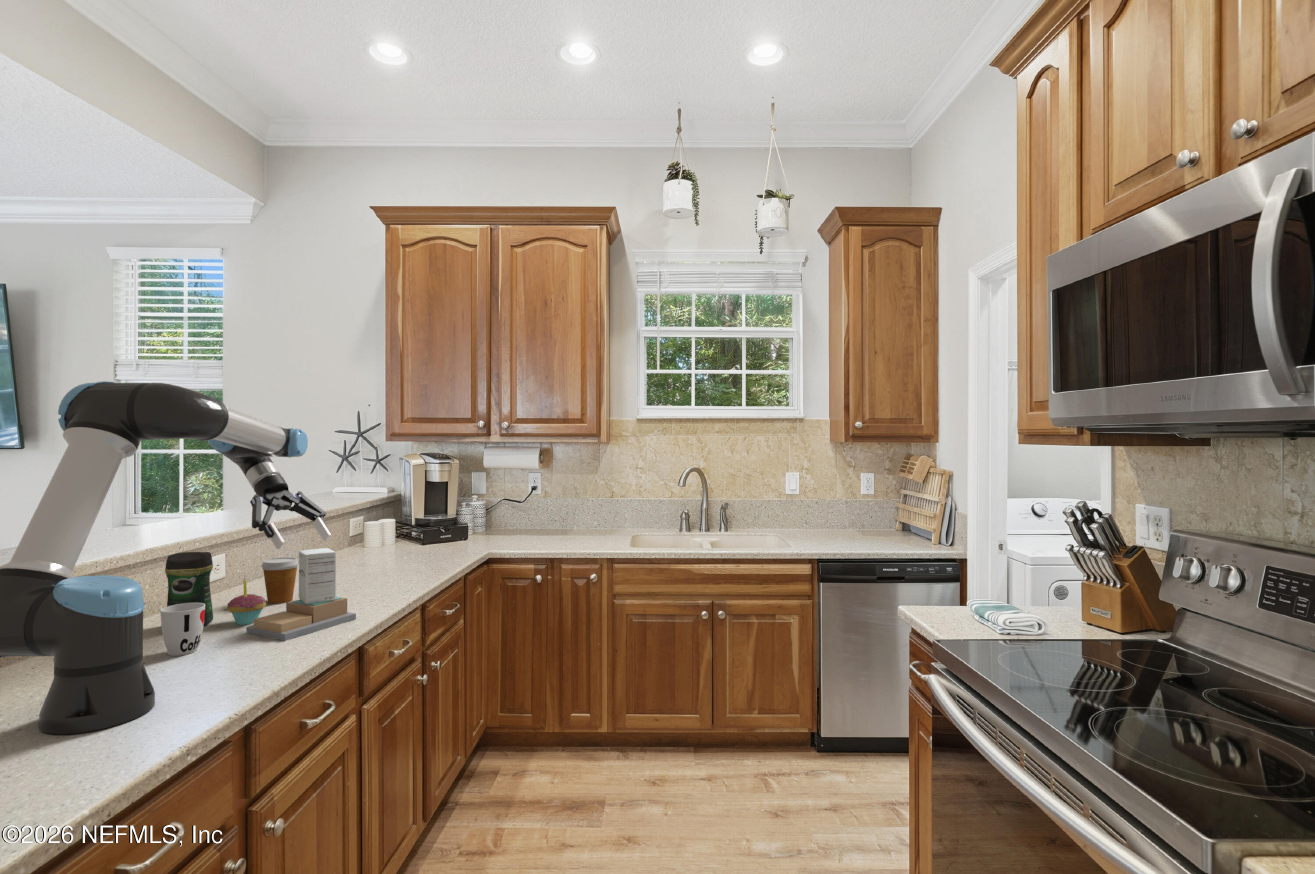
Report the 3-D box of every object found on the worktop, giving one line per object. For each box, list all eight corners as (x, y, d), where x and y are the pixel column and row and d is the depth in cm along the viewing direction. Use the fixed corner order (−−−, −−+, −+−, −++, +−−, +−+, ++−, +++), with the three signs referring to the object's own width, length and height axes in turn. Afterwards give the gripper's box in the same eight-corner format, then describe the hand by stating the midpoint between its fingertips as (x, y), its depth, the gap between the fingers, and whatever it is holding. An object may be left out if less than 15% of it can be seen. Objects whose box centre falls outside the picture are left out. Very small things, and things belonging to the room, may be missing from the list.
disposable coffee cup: (266, 598, 192) (266, 557, 192) (302, 596, 195) (302, 556, 195) (256, 606, 183) (257, 563, 183) (294, 604, 186) (295, 562, 186)
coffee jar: (217, 620, 170) (218, 548, 170) (204, 628, 162) (204, 554, 162) (174, 622, 167) (175, 550, 167) (159, 631, 160) (159, 555, 160)
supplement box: (297, 598, 169) (298, 550, 169) (328, 594, 174) (329, 547, 174) (304, 604, 164) (304, 554, 164) (336, 599, 168) (336, 551, 168)
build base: (285, 640, 153) (285, 616, 153) (246, 632, 159) (246, 609, 159) (355, 619, 171) (356, 597, 171) (318, 612, 177) (318, 591, 177)
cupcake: (262, 625, 166) (262, 577, 165) (222, 628, 162) (223, 580, 162) (268, 616, 173) (268, 571, 173) (231, 619, 170) (231, 573, 170)
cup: (181, 659, 140) (181, 613, 140) (150, 656, 142) (150, 610, 142) (214, 647, 148) (214, 603, 148) (184, 645, 149) (184, 601, 149)
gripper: (302, 488, 190) (338, 544, 184) (214, 495, 167) (252, 558, 161) (315, 471, 188) (352, 526, 182) (227, 475, 165) (266, 538, 159)
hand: (305, 541), depth 171 cm, fingers open, 13 cm apart
